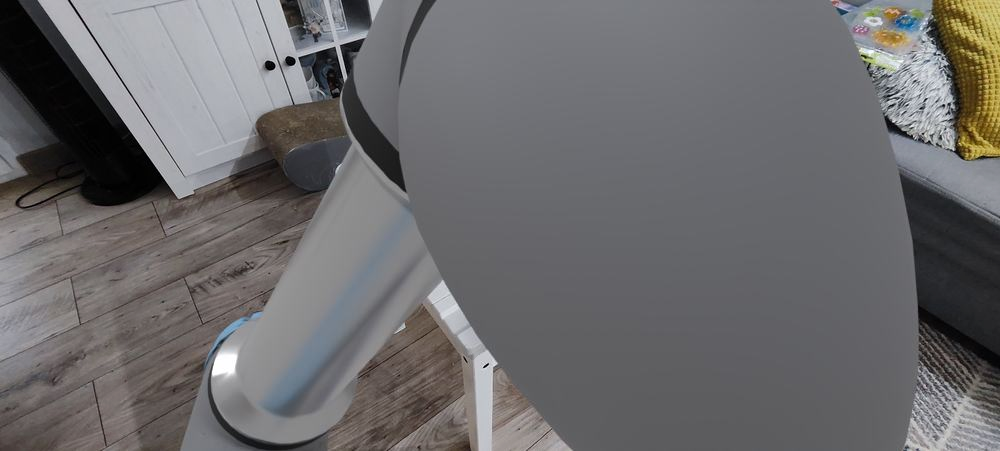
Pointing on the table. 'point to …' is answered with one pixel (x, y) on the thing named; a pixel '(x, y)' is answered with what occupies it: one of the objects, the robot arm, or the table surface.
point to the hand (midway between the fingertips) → (499, 238)
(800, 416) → the robot arm
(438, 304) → the table surface
